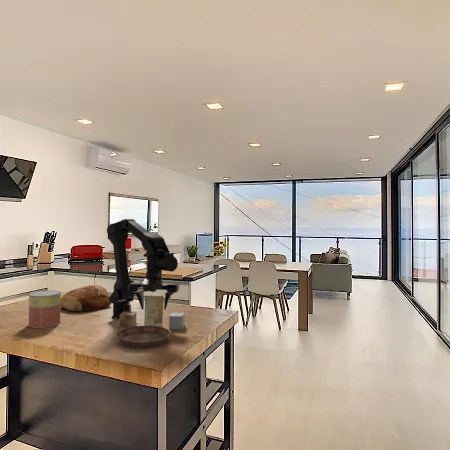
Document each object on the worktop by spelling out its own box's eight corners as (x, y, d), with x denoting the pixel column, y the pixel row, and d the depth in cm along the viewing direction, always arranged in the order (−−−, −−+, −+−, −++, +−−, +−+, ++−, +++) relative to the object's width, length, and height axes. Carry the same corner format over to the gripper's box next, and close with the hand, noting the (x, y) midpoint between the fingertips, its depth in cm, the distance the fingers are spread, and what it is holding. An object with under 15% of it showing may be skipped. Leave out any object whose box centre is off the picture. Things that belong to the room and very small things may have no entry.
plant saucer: (173, 333, 132) (173, 325, 132) (164, 351, 114) (164, 341, 114) (125, 333, 132) (125, 324, 132) (108, 350, 114) (108, 340, 114)
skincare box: (146, 329, 136) (147, 296, 136) (143, 326, 140) (144, 294, 140) (163, 327, 139) (163, 295, 139) (160, 324, 143) (160, 293, 143)
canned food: (54, 318, 150) (54, 289, 149) (65, 324, 142) (65, 293, 141) (24, 323, 142) (24, 292, 142) (33, 329, 134) (34, 297, 134)
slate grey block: (169, 329, 137) (169, 315, 137) (171, 325, 142) (171, 312, 142) (182, 329, 136) (182, 316, 136) (184, 325, 141) (184, 312, 141)
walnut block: (119, 327, 138) (119, 314, 138) (123, 324, 143) (123, 311, 143) (132, 328, 137) (132, 315, 137) (136, 324, 142) (136, 311, 142)
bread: (112, 307, 171) (113, 285, 171) (78, 315, 156) (78, 291, 156) (85, 301, 182) (86, 281, 182) (51, 308, 167) (51, 286, 167)
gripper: (123, 271, 132) (123, 314, 132) (174, 272, 131) (173, 315, 131) (132, 267, 143) (132, 307, 143) (179, 268, 142) (179, 308, 142)
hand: (153, 309), depth 139 cm, fingers open, 8 cm apart
